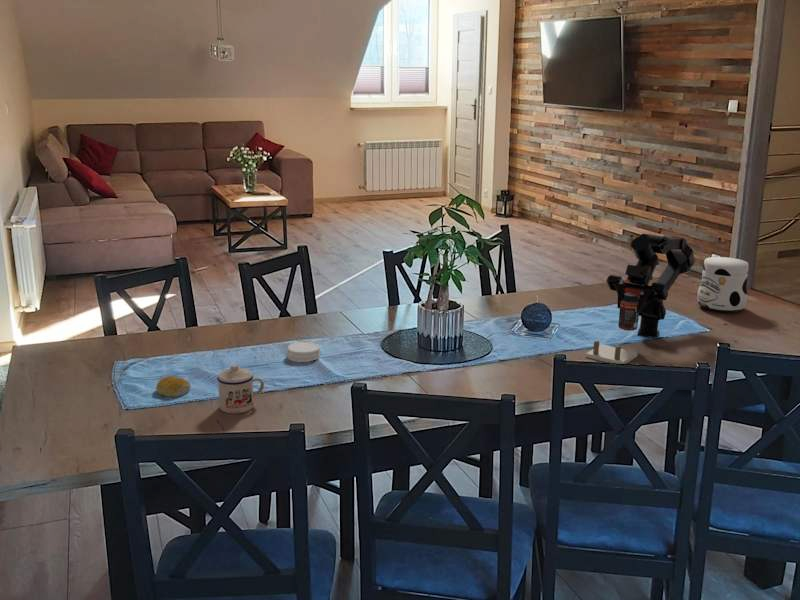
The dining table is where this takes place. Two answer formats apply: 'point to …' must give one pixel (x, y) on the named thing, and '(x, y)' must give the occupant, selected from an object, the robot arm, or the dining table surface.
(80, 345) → the dining table surface
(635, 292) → the apple
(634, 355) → the pegboard
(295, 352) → the white short cylinder
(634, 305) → the supplement bottle
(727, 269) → the milk container
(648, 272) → the robot arm
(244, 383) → the teacup with lid
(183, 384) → the bread roll
